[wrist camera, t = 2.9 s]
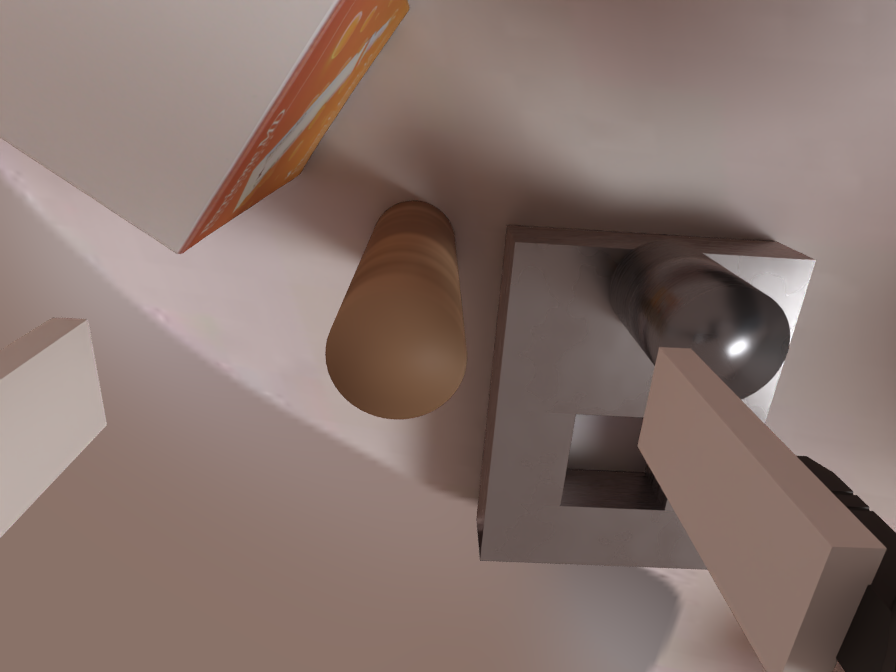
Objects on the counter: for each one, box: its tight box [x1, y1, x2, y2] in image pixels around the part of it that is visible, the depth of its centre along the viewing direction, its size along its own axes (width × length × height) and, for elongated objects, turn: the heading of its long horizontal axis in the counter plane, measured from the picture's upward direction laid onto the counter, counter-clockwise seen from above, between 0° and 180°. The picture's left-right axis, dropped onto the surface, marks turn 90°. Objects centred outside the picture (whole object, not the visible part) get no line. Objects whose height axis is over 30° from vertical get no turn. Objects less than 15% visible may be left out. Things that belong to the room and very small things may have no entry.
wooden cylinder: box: [325, 201, 467, 419], centre depth 21 cm, size 4×4×12 cm
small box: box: [0, 0, 410, 254], centre depth 17 cm, size 8×6×13 cm
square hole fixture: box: [476, 225, 816, 570], centre depth 25 cm, size 16×12×9 cm
